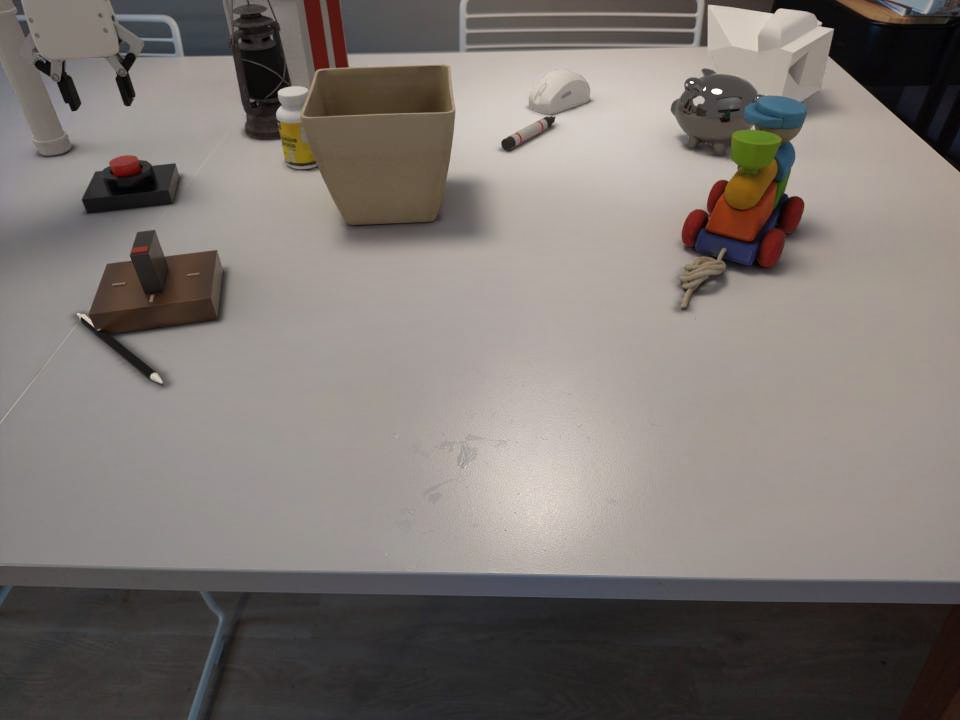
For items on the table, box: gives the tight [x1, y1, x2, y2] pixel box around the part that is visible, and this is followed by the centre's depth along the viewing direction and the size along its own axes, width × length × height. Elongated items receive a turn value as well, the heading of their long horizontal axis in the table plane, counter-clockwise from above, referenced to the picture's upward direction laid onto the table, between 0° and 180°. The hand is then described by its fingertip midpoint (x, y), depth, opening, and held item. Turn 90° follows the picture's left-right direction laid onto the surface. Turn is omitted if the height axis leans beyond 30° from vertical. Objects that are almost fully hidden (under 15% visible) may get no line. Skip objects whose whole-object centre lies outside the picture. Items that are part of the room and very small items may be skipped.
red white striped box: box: [221, 0, 350, 102], centre depth 133 cm, size 16×18×27 cm
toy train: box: [679, 95, 809, 310], centre depth 83 cm, size 12×29×17 cm, turn 147°
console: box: [88, 249, 224, 335], centre depth 81 cm, size 13×11×3 cm
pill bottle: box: [276, 86, 318, 170], centre depth 109 cm, size 6×6×12 cm
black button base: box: [81, 159, 180, 214], centre depth 104 cm, size 12×10×4 cm
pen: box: [76, 312, 164, 385], centre depth 75 cm, size 1×19×1 cm, turn 49°
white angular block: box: [707, 4, 835, 103], centre depth 129 cm, size 17×24×17 cm
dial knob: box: [129, 229, 168, 293], centre depth 78 cm, size 6×2×5 cm, turn 13°
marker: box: [500, 115, 557, 151], centre depth 119 cm, size 15×2×2 cm, turn 142°
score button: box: [108, 154, 141, 176], centre depth 102 cm, size 4×4×2 cm
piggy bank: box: [670, 67, 765, 156], centre depth 112 cm, size 11×15×12 cm
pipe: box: [0, 0, 72, 157], centre depth 109 cm, size 6×6×30 cm
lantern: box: [226, 0, 292, 140], centre depth 115 cm, size 12×11×30 cm
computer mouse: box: [528, 68, 591, 116], centre depth 130 cm, size 6×13×6 cm, turn 132°
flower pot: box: [300, 63, 456, 226], centre depth 95 cm, size 19×19×17 cm
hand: (102, 104), depth 96 cm, fingers open, 6 cm apart
